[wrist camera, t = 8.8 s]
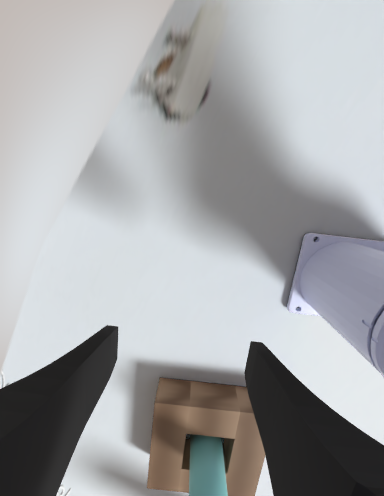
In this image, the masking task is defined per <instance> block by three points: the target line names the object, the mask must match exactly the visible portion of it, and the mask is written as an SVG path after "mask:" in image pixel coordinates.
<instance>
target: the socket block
mask: <svg viewBox="0 0 384 496" xmlns="http://www.w3.org/2000/svg"><path fill="white" fill-rule="evenodd" d="M186 434H194V435H203V436H213V437H222V438H225V439H224V443H222V446H223V456H224V465H225V475H226V484H227V493H228V496H255V492H256V489H257V485H258V481H259V477H260V473H261V469H262V466H263V462H264V458H265V451H264V447H263V444H262V440H261V437H260V433H259V430H258V426H257V423H256V420H255V416H254V413H253V409H252V406H251V402H250V399H249V395H248V391H247V387H241V386H232V385H223V384H214V383H205V382H196V381H187V380H178V379H168V378H160V379H159V384H158V388H157V393H156V398H155V404H154V415H153V426H152V438H151V449H150V460H149V471H148V482H147V488H149V489H158V490H168V491H177V492H187V493H189V470H190V439H186Z"/></svg>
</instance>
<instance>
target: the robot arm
mask: <svg viewBox="0 0 384 496" xmlns="http://www.w3.org/2000/svg"><path fill="white" fill-rule="evenodd" d="M315 237H317V240H316V241H313V239H314V238H315ZM297 307H299V309H296V308H297ZM287 309H288V310H289V311H290V312H291V313H299V314H308V315H317V316H321V317H322V318H324V319H325V320H326V321H327V322H328V323H329V324H330V325H331V326H332V327H333V328H334V329H335V330H336V331H337V332H338V333H339V334H340V335H341V336H342V337H343V338H344V339H346V340H347V341H348V342H349V343H350V344H351V345H352V346H353V347H354V348H355V349H356V350H357V351H358V352H359V353H360V354H361V355H362V356H363V357H364V358H365V359H366V360H367V361H369V362H370V363H371V364H372V365H373V366H374V367H375V368H376V369H377V370H378V371H379V372H380V373H381V374H382V375H383V377H384V241H377V240H368V239H360V238H351V237H342V236H334V235H325V234H316V233H307V234H306V235H305V236H304V238H303V242H302V246H301V250H300V254H299V259H298V263H297V267H296V271H295V275H294V279H293V284H292V288H291V292H290V296H289V300H288V304H287ZM117 348H118V327H117V326H108V325H107V326H105V327H104V328H103V329H101V330H100V331H98V332H97V333H96V334H94V335H93V336H92V337H90V338H89V339H87V340H86V341H85V342H83V343H82V344H80V345H79V346H77V347H76V348H75V349H73V350H71V351H70V352H68V353H67V354H65V355H64V356H62V357H61V358H59V359H57V360H56V361H54V362H52V363H51V364H49V365H47V366H46V367H44V368H42V369H40V370H38V371H36V372H35V373H33V374H31V375H29V376H27V377H25V378H23V379H21V380H18V381H16V382H14V383H12V384H10V385H8V386H6V387H4V388H2V389H0V496H56V494H57V492H58V489H59V487H60V484H61V482H62V479H63V477H64V474H65V472H66V469H67V467H68V465H69V462H70V460H71V457H72V455H73V453H74V450H75V448H76V445H77V443H78V441H79V438H80V436H81V434H82V432H83V430H84V428H85V425H86V423H87V421H88V420H89V418H90V416H91V414H92V412H93V410H94V408H95V406H96V404H97V402H98V400H99V398H100V396H101V394H102V393H103V391H104V389H105V387H106V385H107V383H108V381H109V379H110V376H111V374H112V371H113V369H114V366H115V363H116V361H117ZM245 379H246V385H247V391H248V395H249V399H250V402H251V406H252V409H253V413H254V416H255V420H256V423H257V426H258V430H259V433H260V437H261V440H262V444H263V447H264V451H265V455H266V460H267V465H268V469H269V474H270V479H271V484H272V489H273V494H274V496H384V445H382V444H381V443H379V442H378V441H376V440H375V439H373V438H371V437H370V436H369V435H367V434H366V433H364V432H363V431H361V430H360V429H358V428H357V427H355V426H354V425H353V424H351V423H350V422H349V421H347V420H346V419H345V418H343V417H342V416H340V415H339V414H338V413H337V412H335V411H334V410H333V409H331V408H330V407H329V406H328V405H326V404H325V403H324V402H323V401H322V400H320V399H319V398H318V397H317V396H316V395H314V394H313V393H312V392H311V391H310V390H309V389H308V388H307V387H306V386H305V385H303V384H302V383H301V382H300V381H299V380H298V379H297V378H296V377H295V376H294V375H293V374H292V373H291V372H290V371H289V370H288V369H287V368H286V367H285V366H284V365H283V364H282V363H281V362H280V361H279V360H278V359H277V358H276V357H275V355H274V354H273V353H272V352H271V351H270V350H269V349H268V348H267V347H266V346H265V345H264V344H263V343H261V342H252V341H251V343H250V348H249V353H248V358H247V363H246V368H245Z"/></svg>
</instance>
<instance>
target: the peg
mask: <svg viewBox="0 0 384 496" xmlns="http://www.w3.org/2000/svg"><path fill="white" fill-rule="evenodd" d="M189 496H228V493H227V484H226V475H225V465H224V456H223V446H222V437H213V436H203V435H194V434H190V470H189Z"/></svg>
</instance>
